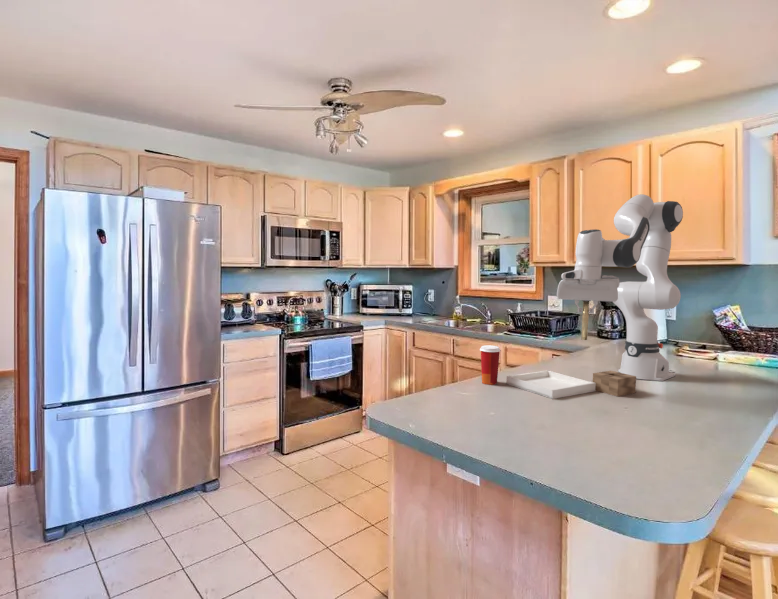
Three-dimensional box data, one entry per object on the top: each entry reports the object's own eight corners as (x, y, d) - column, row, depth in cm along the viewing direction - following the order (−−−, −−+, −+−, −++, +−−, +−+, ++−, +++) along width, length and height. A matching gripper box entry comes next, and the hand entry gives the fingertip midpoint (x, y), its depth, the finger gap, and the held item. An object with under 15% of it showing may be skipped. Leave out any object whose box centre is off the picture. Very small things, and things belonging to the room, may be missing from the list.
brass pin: (583, 338, 165) (585, 297, 164) (590, 340, 163) (592, 298, 162) (577, 339, 164) (580, 297, 163) (585, 340, 161) (587, 298, 160)
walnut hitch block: (609, 386, 170) (610, 370, 170) (635, 392, 161) (636, 376, 161) (592, 389, 165) (593, 373, 165) (617, 396, 156) (618, 379, 156)
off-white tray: (547, 377, 182) (547, 370, 182) (595, 391, 163) (595, 382, 163) (506, 383, 172) (506, 376, 172) (552, 399, 153) (552, 390, 152)
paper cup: (498, 380, 176) (499, 345, 175) (501, 385, 169) (502, 348, 168) (477, 380, 177) (478, 344, 176) (479, 385, 170) (480, 348, 168)
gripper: (618, 275, 161) (616, 314, 162) (557, 274, 168) (555, 310, 169) (621, 275, 155) (618, 315, 156) (557, 273, 163) (555, 312, 163)
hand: (585, 313), depth 163 cm, fingers closed on brass pin, 2 cm apart
